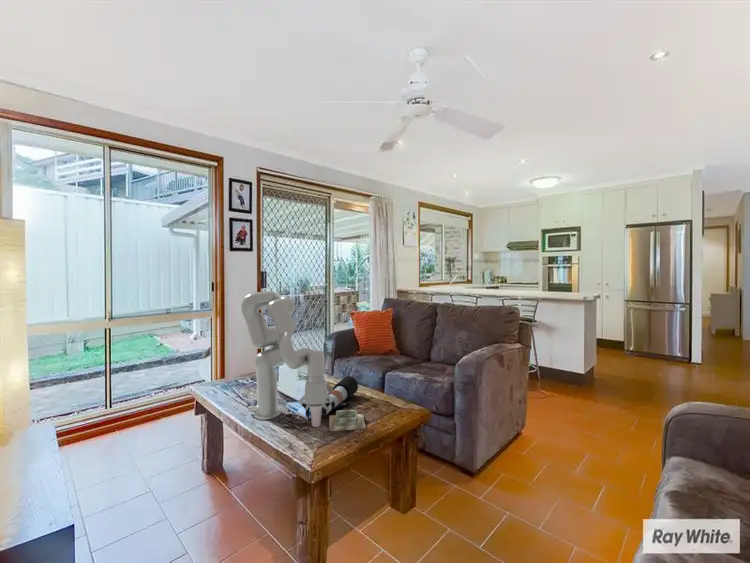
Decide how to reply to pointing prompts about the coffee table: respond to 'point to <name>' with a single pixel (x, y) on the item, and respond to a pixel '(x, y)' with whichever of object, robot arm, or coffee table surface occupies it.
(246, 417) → the coffee table surface
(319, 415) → the smoothie
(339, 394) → the white black banded cylinder
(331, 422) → the end holder
